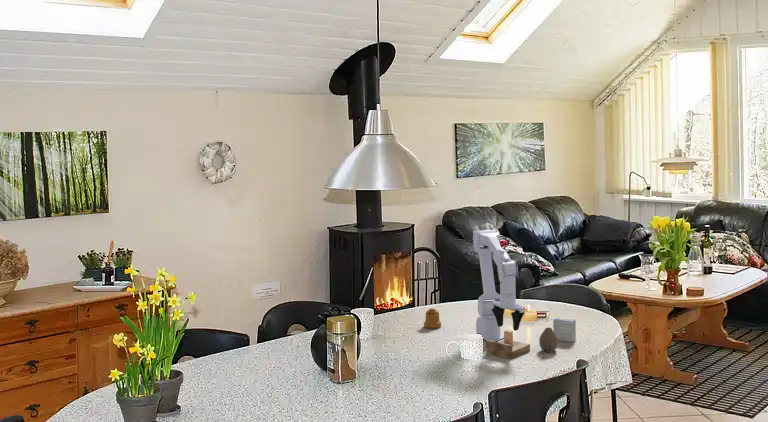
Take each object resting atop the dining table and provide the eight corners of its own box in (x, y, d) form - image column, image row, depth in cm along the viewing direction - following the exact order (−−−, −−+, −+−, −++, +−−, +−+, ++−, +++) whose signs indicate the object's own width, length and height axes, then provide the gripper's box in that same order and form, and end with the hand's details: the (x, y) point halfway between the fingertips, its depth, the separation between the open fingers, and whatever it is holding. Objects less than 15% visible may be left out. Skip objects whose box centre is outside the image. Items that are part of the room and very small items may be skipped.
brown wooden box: (486, 353, 298) (486, 340, 297) (505, 345, 307) (505, 333, 306) (510, 358, 290) (510, 345, 289) (530, 350, 300) (529, 337, 299)
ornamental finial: (426, 324, 341) (443, 325, 339) (421, 328, 334) (438, 329, 332) (426, 306, 340) (443, 307, 338) (421, 310, 333) (438, 311, 331)
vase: (557, 353, 295) (558, 331, 294) (539, 353, 296) (539, 330, 295) (557, 348, 302) (557, 326, 301) (539, 347, 303) (539, 325, 302)
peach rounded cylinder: (502, 345, 298) (502, 331, 298) (507, 343, 301) (507, 329, 300) (509, 347, 296) (509, 333, 295) (514, 345, 298) (514, 331, 298)
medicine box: (576, 339, 312) (576, 318, 311) (572, 342, 308) (572, 321, 307) (556, 337, 316) (556, 316, 315) (553, 340, 313) (553, 319, 312)
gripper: (529, 294, 293) (530, 329, 295) (499, 288, 304) (500, 322, 305) (518, 297, 288) (518, 333, 290) (487, 291, 299) (488, 326, 301)
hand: (508, 328), depth 297 cm, fingers open, 7 cm apart
